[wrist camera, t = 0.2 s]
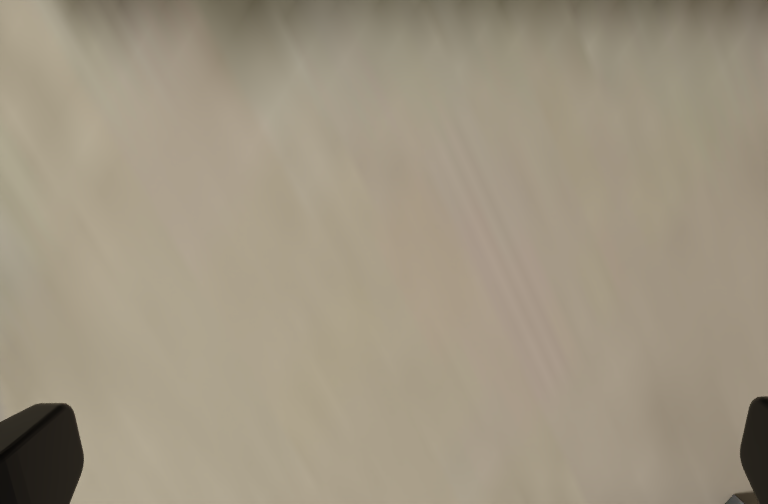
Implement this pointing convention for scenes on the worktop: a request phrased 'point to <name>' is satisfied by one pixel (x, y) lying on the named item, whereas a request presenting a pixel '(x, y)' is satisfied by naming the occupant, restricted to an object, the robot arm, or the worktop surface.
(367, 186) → the worktop surface
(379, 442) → the worktop surface
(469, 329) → the worktop surface
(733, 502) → the bin
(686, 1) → the worktop surface
